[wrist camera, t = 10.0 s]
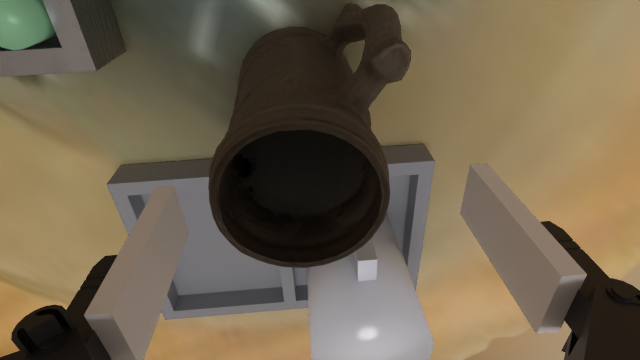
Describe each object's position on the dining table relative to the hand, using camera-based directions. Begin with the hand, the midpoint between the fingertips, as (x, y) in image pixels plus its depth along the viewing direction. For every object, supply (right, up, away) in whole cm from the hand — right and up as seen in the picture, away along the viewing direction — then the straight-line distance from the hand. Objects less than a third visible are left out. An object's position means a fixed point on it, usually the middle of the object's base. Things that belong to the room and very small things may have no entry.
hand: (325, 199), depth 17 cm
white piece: (+3, -4, +27) cm, 28 cm away
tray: (-5, -5, +29) cm, 29 cm away
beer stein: (-2, +12, +18) cm, 22 cm away
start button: (-22, +15, +13) cm, 29 cm away
